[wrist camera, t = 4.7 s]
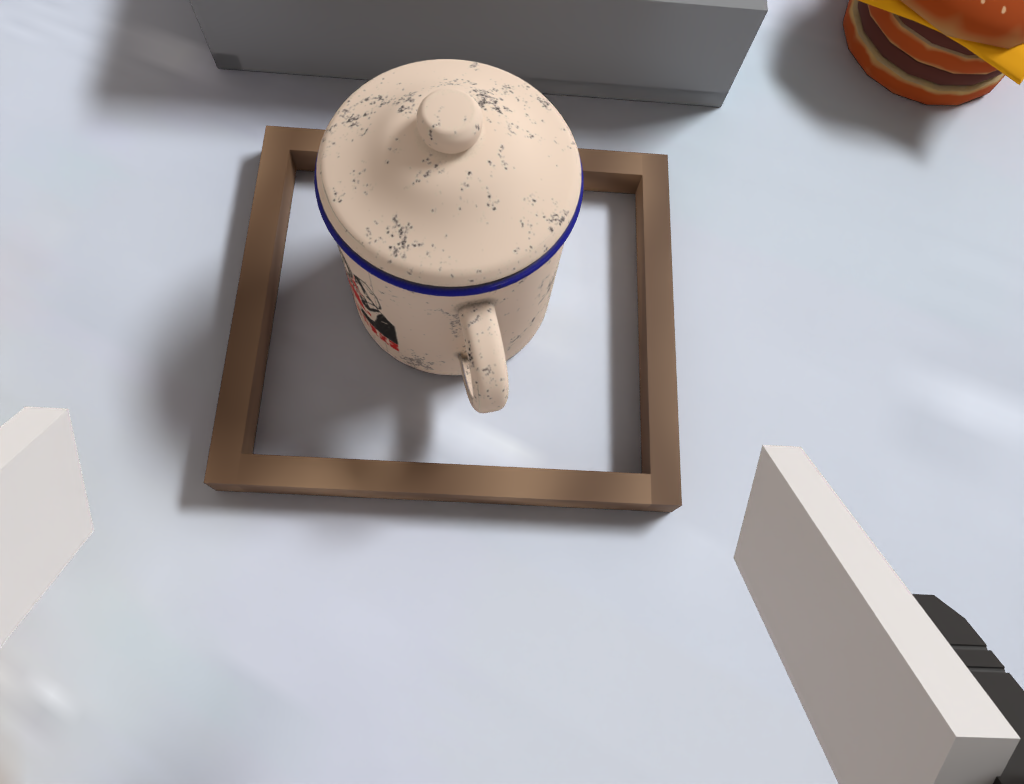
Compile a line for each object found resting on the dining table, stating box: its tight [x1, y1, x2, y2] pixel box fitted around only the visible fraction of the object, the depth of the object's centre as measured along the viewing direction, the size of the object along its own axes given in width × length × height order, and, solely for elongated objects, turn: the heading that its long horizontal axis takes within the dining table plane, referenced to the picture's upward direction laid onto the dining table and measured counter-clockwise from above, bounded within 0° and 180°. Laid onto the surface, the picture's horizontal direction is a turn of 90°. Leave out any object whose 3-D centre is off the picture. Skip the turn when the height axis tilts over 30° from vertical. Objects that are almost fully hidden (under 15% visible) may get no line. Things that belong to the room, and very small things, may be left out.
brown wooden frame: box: [204, 126, 682, 512], centre depth 32 cm, size 18×16×2 cm
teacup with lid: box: [314, 59, 583, 413], centre depth 27 cm, size 12×9×12 cm
